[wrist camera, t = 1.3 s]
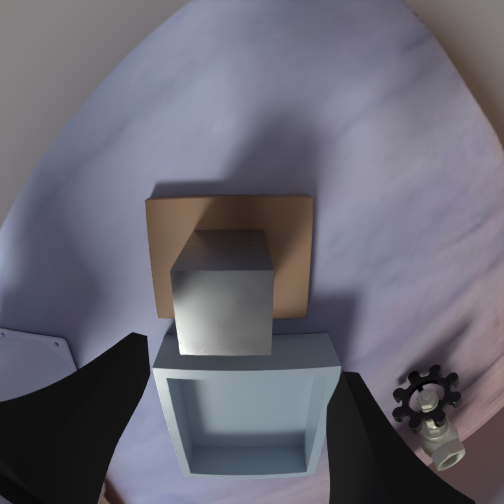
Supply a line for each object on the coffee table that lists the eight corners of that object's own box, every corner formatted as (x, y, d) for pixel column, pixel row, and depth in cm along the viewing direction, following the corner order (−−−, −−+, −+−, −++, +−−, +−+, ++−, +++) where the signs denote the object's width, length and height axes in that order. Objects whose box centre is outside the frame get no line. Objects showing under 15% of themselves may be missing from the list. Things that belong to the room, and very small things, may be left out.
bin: (187, 445, 27) (183, 476, 23) (164, 334, 22) (152, 367, 18) (308, 444, 27) (313, 474, 23) (327, 332, 22) (341, 365, 19)
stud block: (161, 310, 22) (148, 339, 18) (150, 197, 19) (130, 209, 15) (303, 310, 22) (313, 340, 18) (310, 195, 19) (324, 206, 16)
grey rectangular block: (197, 293, 20) (180, 354, 14) (193, 229, 19) (169, 270, 13) (263, 293, 20) (271, 355, 14) (264, 229, 19) (274, 270, 13)
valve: (454, 412, 27) (440, 352, 24) (478, 449, 21) (475, 397, 18) (407, 441, 28) (380, 390, 25) (425, 482, 22) (405, 442, 19)
